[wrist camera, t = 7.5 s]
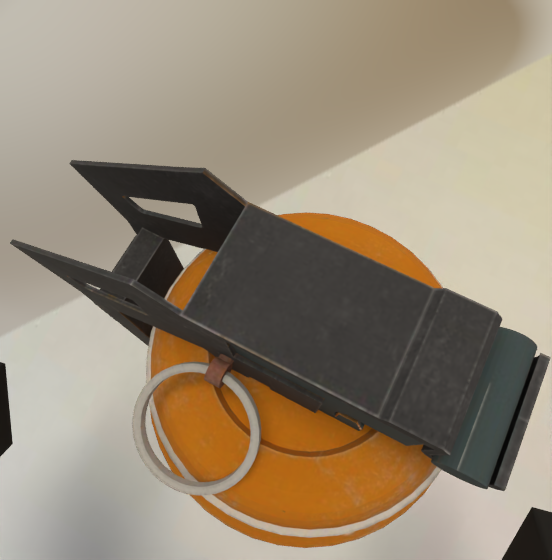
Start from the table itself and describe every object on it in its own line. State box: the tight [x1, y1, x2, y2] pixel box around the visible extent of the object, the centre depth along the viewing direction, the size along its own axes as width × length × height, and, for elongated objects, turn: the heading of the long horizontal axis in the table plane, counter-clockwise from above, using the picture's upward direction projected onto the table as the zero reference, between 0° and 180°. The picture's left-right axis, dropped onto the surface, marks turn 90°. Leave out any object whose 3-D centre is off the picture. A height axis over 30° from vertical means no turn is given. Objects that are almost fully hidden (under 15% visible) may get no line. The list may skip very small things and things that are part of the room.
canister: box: [10, 160, 551, 548], centre depth 17 cm, size 9×11×20 cm
